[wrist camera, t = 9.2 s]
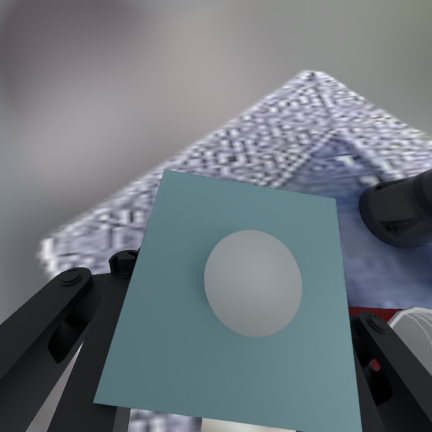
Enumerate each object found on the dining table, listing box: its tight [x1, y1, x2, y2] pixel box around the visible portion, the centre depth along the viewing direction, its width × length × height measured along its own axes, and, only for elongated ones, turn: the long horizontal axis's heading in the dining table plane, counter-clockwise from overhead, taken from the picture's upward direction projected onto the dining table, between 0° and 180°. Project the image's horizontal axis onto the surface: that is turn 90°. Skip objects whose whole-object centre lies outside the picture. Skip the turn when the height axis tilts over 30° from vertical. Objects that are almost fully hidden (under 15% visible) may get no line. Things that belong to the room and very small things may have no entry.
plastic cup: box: [348, 307, 432, 375], centre depth 23 cm, size 11×11×12 cm
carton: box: [93, 170, 362, 432], centre depth 11 cm, size 6×6×16 cm
